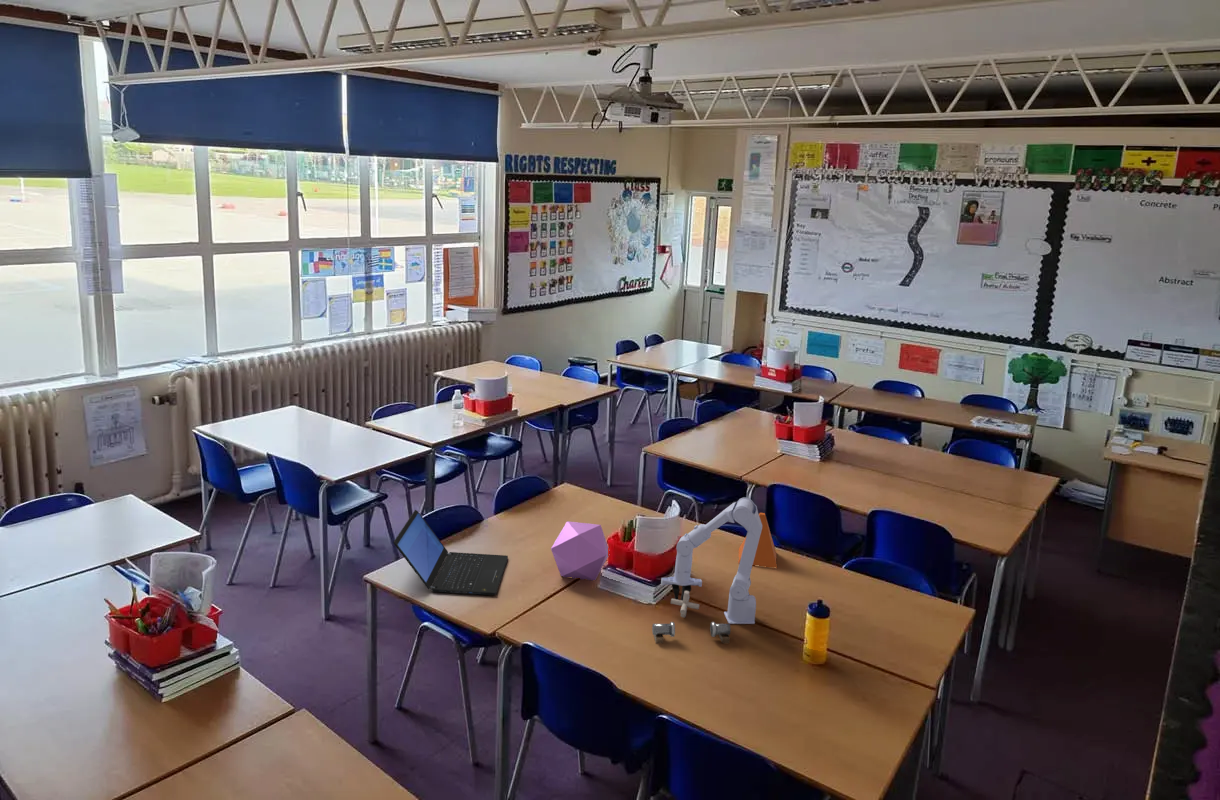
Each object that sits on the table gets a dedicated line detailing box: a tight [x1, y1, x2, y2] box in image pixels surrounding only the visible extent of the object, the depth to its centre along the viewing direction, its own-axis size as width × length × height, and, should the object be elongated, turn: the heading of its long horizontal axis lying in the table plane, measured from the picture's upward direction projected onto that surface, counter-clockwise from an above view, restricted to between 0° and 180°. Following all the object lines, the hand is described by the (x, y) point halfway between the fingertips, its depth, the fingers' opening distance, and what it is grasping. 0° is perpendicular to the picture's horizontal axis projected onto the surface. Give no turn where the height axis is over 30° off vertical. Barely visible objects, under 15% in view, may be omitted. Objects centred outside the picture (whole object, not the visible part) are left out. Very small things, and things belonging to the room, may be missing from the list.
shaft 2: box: [709, 621, 731, 644], centre depth 287 cm, size 6×5×6 cm
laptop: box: [393, 509, 509, 596], centre depth 322 cm, size 33×38×19 cm
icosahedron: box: [550, 520, 609, 581], centre depth 327 cm, size 22×21×25 cm
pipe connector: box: [670, 591, 700, 618], centre depth 300 cm, size 10×10×10 cm
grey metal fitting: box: [651, 621, 676, 644], centre depth 285 cm, size 7×5×6 cm
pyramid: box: [737, 512, 778, 569], centre depth 350 cm, size 16×16×20 cm
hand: (679, 602), depth 307 cm, fingers closed
